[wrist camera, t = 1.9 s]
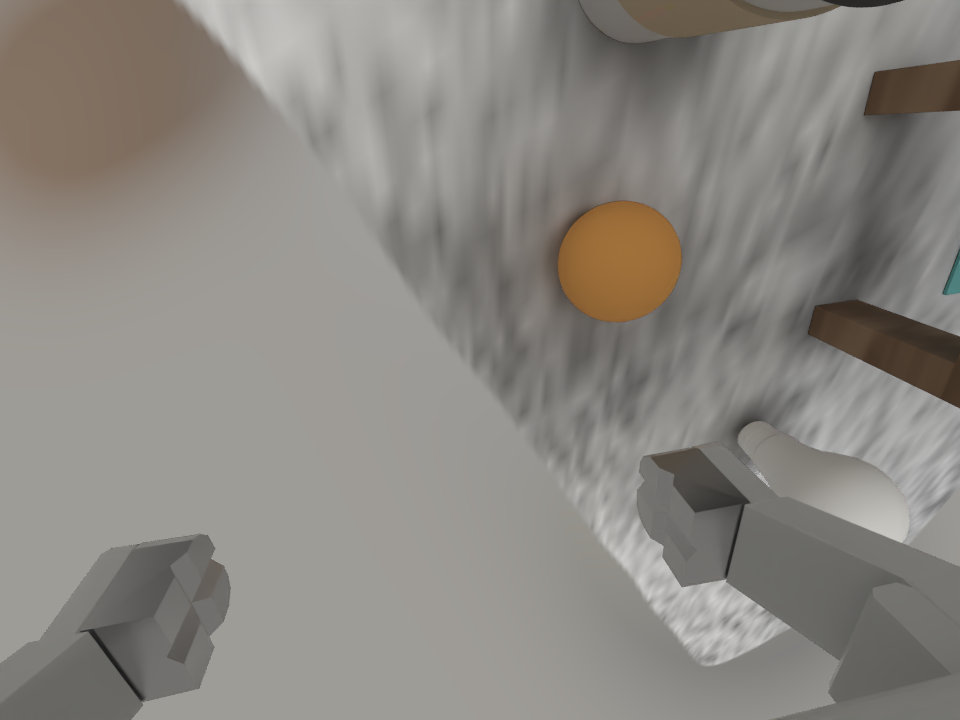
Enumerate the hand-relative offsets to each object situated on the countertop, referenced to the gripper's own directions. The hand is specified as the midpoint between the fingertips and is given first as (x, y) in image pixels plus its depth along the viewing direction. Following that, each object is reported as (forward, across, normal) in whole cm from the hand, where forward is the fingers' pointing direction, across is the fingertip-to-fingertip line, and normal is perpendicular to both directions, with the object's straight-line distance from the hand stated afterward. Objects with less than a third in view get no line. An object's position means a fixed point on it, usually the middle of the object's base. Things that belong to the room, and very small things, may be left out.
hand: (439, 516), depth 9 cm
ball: (+15, -10, 0) cm, 18 cm away
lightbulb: (+18, -22, +15) cm, 32 cm away
